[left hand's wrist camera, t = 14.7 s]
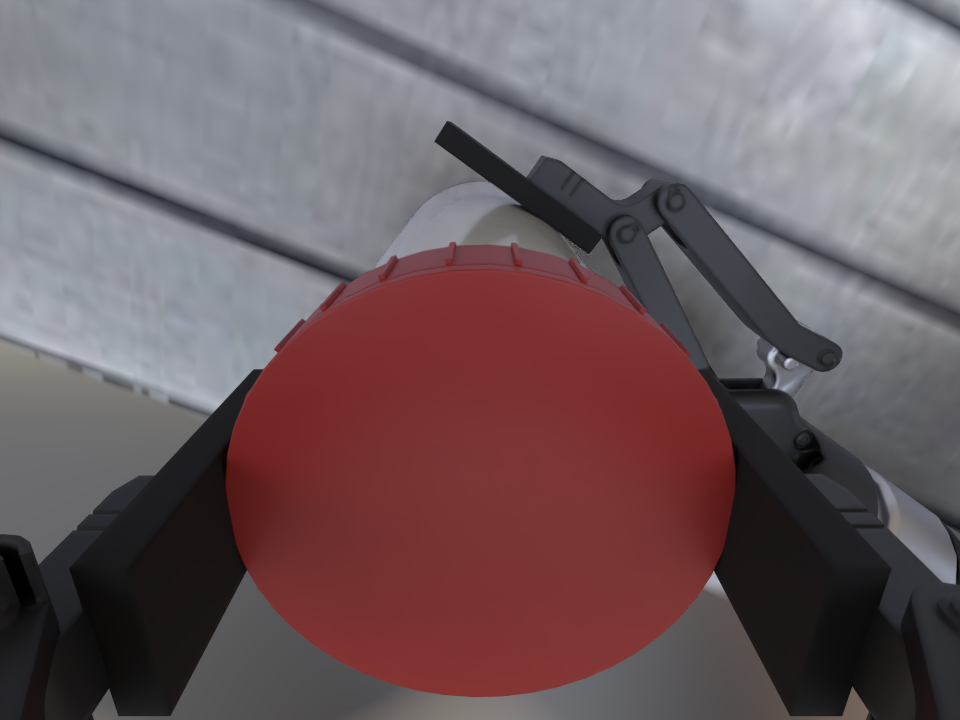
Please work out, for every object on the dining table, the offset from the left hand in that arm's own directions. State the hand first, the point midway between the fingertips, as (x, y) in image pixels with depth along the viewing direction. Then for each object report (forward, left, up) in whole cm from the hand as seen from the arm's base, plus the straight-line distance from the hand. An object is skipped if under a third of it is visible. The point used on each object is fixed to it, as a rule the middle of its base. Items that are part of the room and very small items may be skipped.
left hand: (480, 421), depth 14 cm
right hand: (-4, -2, -9) cm, 10 cm away
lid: (0, 0, +3) cm, 3 cm away
